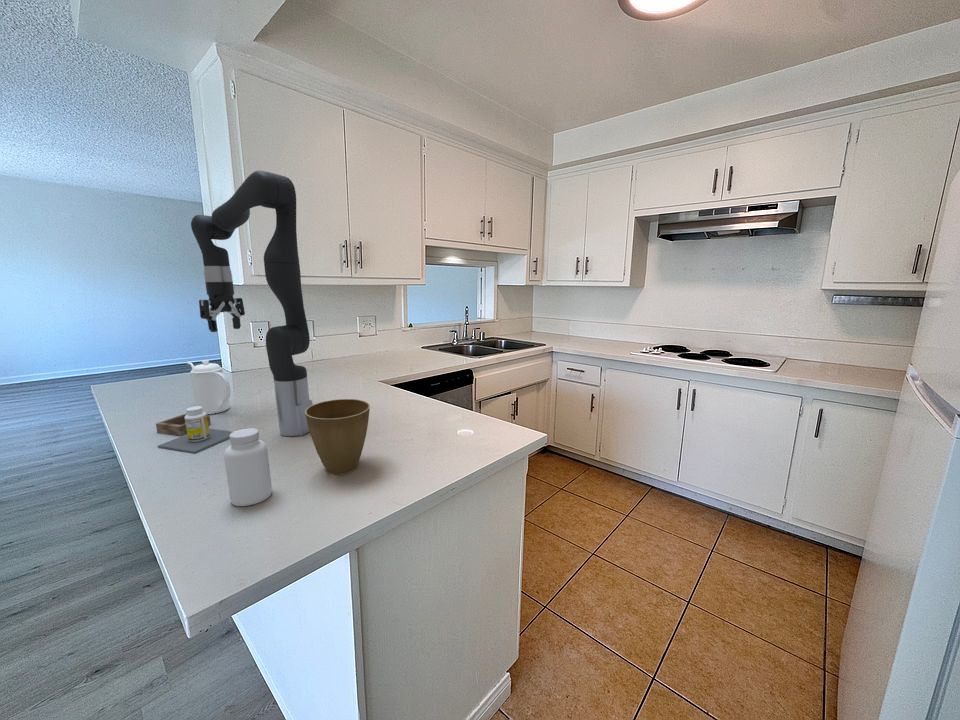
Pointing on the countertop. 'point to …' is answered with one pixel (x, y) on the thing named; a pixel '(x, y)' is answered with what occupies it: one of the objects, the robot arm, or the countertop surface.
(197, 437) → the supplement bottle
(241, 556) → the countertop surface
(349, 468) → the plant pot
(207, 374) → the coffeepot
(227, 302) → the robot arm
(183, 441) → the rubber mat
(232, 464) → the pill bottle
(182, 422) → the collar holder
